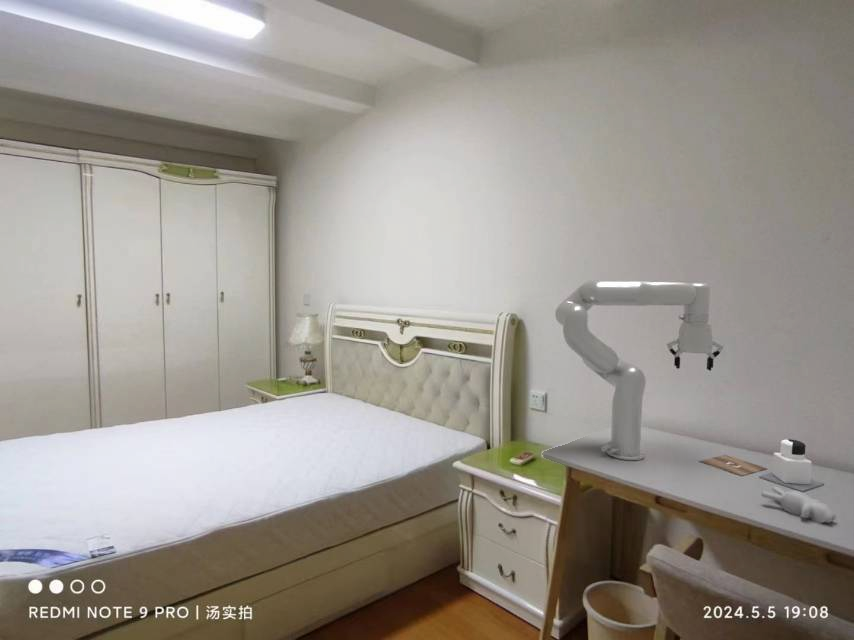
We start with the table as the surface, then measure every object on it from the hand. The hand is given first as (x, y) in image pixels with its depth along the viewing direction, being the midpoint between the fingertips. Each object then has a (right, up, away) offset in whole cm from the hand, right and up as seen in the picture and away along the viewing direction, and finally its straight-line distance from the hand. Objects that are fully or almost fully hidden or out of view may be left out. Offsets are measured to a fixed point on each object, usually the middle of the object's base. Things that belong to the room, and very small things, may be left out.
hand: (693, 368), depth 173 cm
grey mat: (+19, -32, -20) cm, 43 cm away
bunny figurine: (+6, -34, -41) cm, 54 cm away
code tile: (+9, -31, -7) cm, 33 cm away
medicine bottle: (+19, -32, -20) cm, 42 cm away
